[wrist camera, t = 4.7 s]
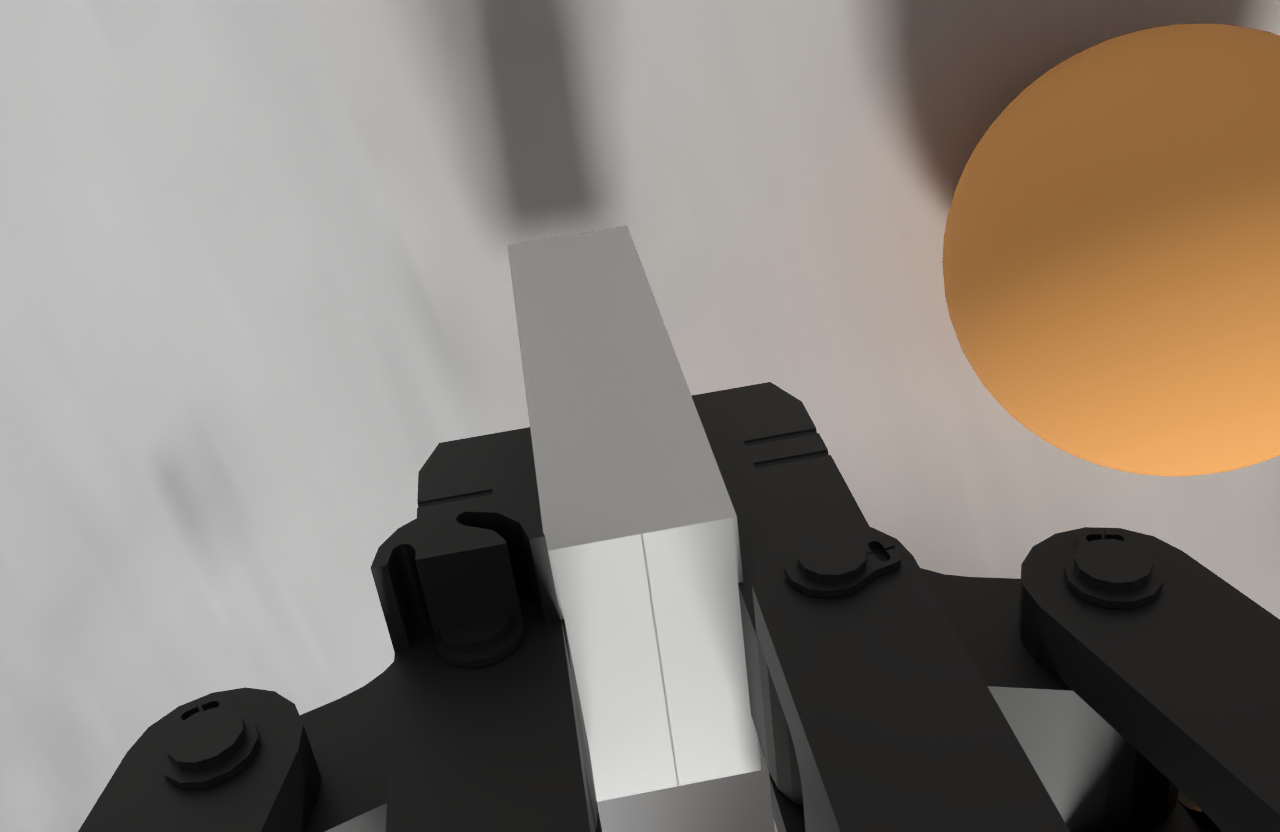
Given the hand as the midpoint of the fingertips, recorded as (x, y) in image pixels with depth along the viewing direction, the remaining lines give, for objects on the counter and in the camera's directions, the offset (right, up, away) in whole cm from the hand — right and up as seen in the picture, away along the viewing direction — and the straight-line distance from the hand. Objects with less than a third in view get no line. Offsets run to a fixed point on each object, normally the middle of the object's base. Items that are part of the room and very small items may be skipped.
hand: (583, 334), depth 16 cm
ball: (+7, +1, 0) cm, 7 cm away
